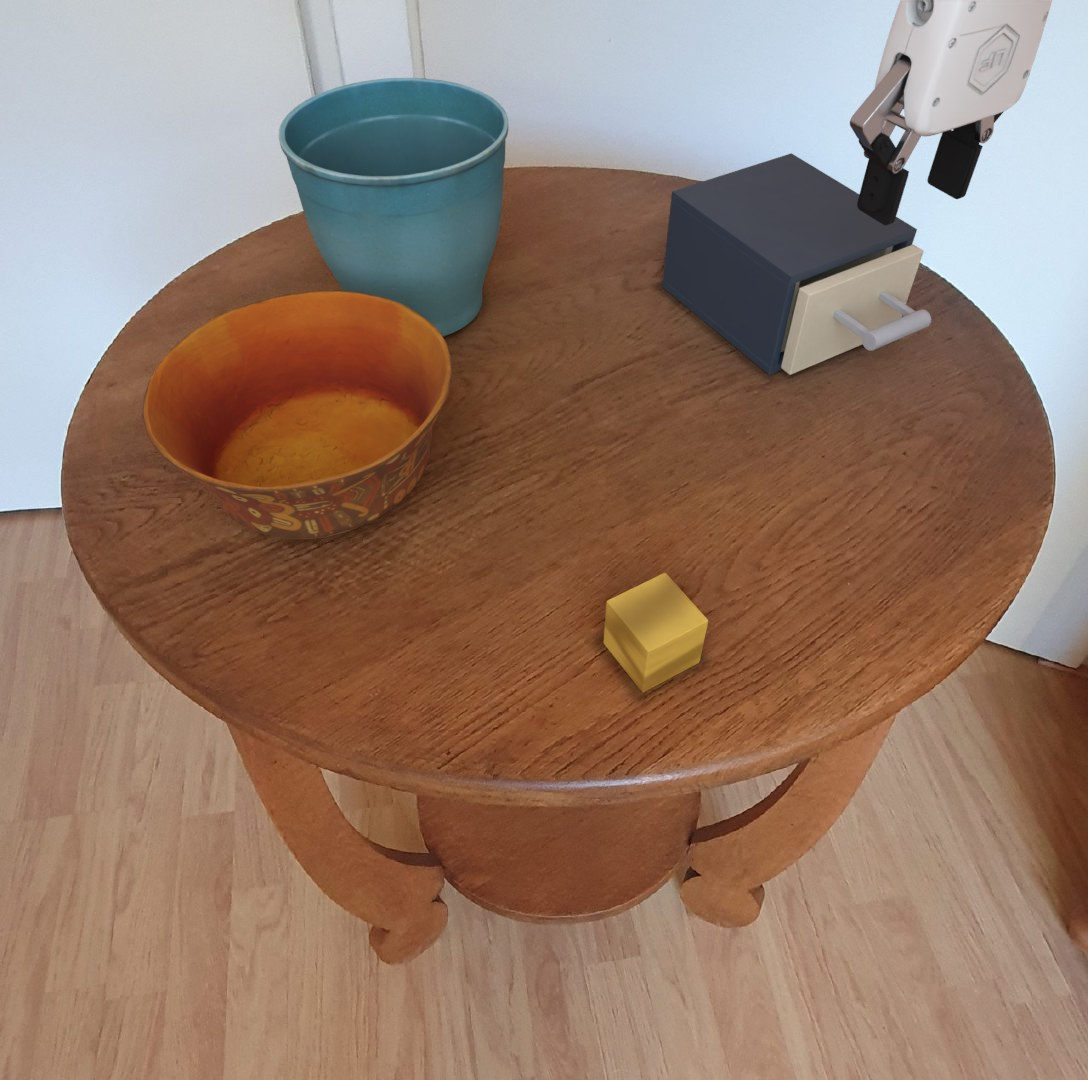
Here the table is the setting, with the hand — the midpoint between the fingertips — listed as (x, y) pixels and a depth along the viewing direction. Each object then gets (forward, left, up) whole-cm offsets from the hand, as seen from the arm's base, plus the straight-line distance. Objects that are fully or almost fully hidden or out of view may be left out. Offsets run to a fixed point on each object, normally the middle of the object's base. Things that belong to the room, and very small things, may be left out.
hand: (910, 201), depth 69 cm
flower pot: (+28, +28, -16) cm, 43 cm away
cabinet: (+11, 0, -16) cm, 19 cm away
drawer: (+7, 0, -15) cm, 16 cm away
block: (-15, +32, -16) cm, 38 cm away
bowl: (+11, +44, -16) cm, 48 cm away
